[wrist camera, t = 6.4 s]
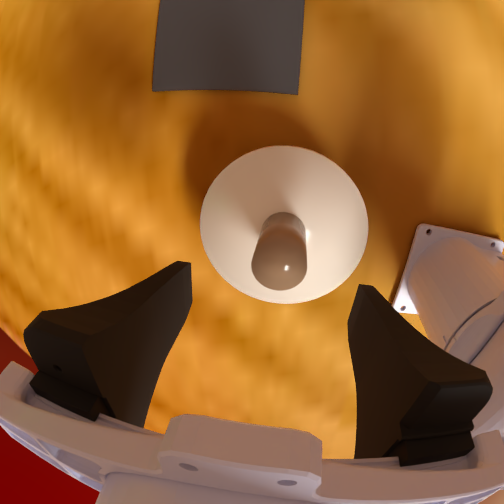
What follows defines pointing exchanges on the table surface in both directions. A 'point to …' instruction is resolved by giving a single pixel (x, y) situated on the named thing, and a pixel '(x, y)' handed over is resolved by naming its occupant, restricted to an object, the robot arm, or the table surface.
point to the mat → (229, 45)
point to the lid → (284, 224)
